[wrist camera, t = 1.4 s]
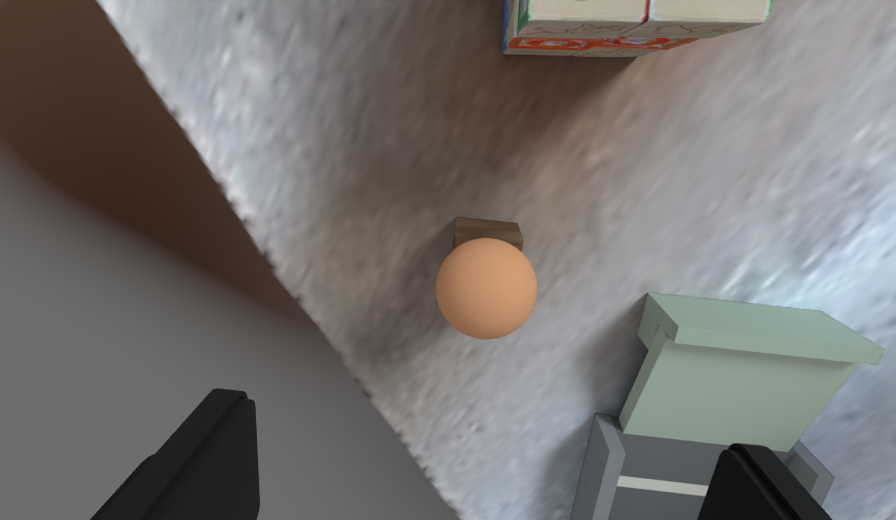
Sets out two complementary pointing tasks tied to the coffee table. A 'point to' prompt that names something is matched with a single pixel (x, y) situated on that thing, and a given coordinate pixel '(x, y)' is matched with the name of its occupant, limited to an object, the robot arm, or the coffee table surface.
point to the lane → (664, 475)
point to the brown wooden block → (486, 231)
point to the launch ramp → (738, 371)
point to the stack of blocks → (621, 25)
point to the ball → (486, 288)
